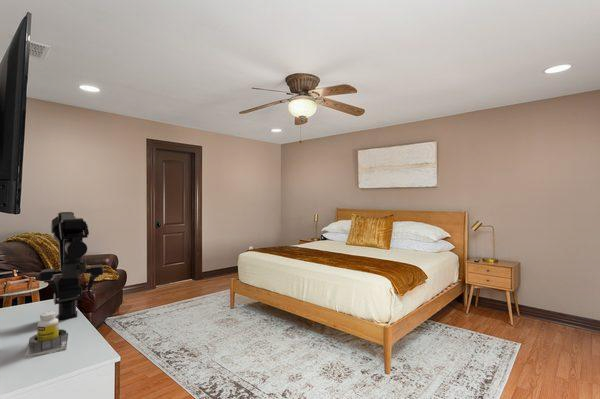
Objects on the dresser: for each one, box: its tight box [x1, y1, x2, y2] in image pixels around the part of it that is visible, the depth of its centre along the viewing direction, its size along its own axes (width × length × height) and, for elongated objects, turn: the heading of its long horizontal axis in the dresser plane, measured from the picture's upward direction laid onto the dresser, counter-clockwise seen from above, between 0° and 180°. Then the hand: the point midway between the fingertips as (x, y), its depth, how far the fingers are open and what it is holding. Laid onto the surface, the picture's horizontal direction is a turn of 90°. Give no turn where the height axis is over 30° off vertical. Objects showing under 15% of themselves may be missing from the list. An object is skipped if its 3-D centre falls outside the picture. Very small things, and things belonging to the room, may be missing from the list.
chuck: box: [24, 329, 69, 359], centre depth 104 cm, size 12×10×3 cm
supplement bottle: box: [36, 310, 60, 341], centre depth 104 cm, size 5×5×10 cm
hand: (73, 295), depth 116 cm, fingers open, 9 cm apart
